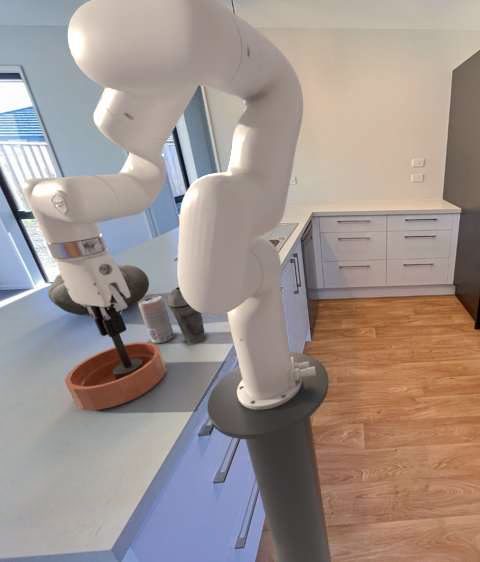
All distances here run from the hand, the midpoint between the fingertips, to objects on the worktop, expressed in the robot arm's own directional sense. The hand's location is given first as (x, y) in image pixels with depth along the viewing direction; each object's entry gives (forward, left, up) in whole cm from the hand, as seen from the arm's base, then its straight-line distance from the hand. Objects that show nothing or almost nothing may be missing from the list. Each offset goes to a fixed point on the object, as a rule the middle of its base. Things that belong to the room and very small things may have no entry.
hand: (114, 332), depth 62 cm
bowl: (+1, +1, -13) cm, 13 cm away
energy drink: (0, -18, -13) cm, 22 cm away
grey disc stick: (0, 0, -11) cm, 11 cm away
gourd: (+26, -45, -13) cm, 54 cm away
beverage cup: (-9, -15, -13) cm, 22 cm away
